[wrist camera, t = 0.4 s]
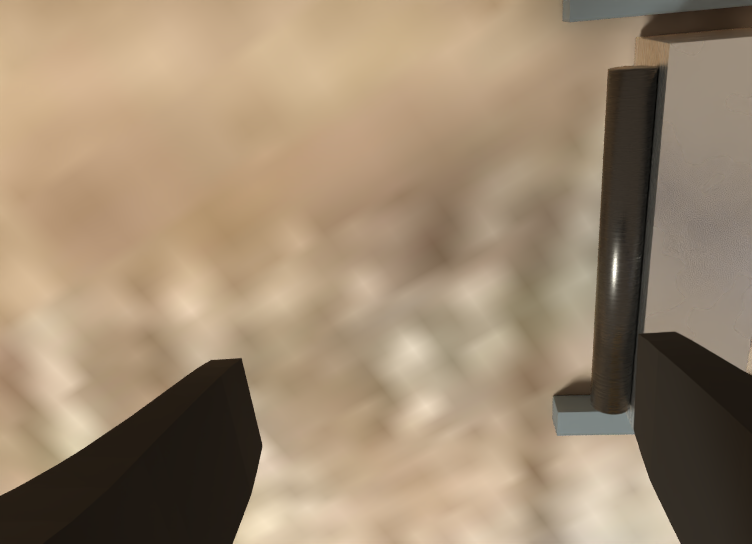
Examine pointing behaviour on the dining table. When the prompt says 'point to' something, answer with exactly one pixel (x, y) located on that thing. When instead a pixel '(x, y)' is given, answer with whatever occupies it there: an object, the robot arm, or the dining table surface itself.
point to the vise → (595, 4)
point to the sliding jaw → (675, 206)
